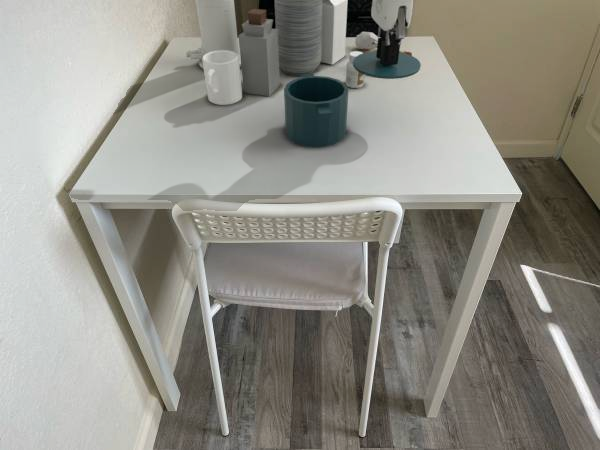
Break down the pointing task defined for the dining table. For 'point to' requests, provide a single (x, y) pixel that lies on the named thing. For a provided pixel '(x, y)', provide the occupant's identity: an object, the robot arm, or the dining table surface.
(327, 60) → the milk carton
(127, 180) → the dining table surface
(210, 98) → the mug
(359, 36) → the figurine
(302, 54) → the vase
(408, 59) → the lid
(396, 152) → the dining table surface
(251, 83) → the perfume bottle
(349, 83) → the pill bottle
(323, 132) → the pot
